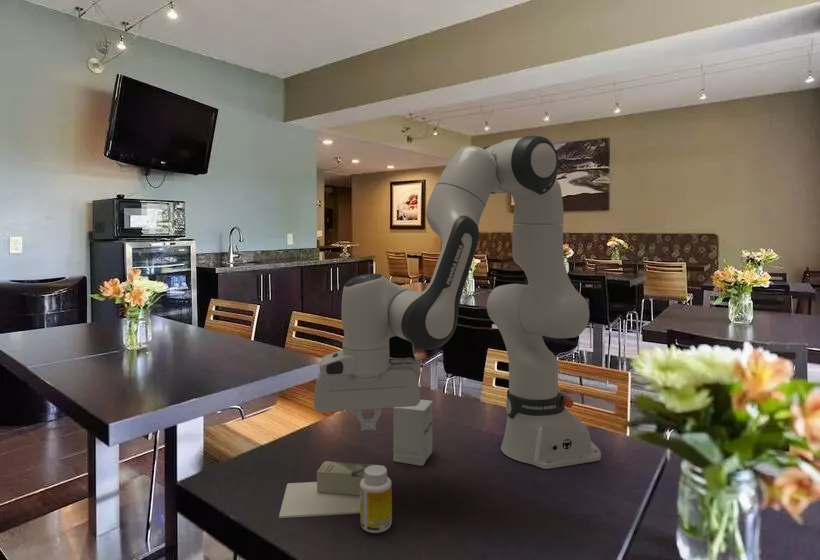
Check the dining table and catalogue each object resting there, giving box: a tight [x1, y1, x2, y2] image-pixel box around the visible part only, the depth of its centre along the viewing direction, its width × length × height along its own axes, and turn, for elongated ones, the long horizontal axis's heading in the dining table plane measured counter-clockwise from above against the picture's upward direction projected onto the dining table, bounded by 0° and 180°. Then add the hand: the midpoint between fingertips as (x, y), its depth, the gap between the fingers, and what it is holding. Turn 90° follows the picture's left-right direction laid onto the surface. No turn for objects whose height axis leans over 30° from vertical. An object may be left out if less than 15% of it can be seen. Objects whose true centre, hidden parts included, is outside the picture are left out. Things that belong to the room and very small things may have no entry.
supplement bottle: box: [359, 464, 393, 534], centre depth 89 cm, size 6×6×10 cm
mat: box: [278, 481, 360, 519], centre depth 99 cm, size 18×12×1 cm, turn 96°
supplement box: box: [392, 399, 434, 467], centre depth 116 cm, size 7×7×13 cm
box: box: [316, 460, 385, 496], centre depth 101 cm, size 5×4×13 cm
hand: (368, 429), depth 99 cm, fingers closed
